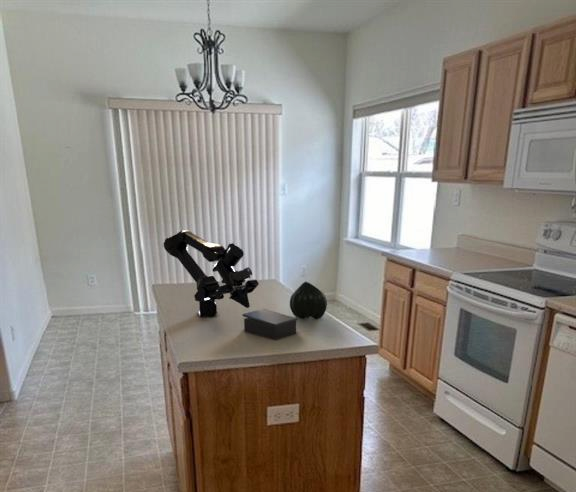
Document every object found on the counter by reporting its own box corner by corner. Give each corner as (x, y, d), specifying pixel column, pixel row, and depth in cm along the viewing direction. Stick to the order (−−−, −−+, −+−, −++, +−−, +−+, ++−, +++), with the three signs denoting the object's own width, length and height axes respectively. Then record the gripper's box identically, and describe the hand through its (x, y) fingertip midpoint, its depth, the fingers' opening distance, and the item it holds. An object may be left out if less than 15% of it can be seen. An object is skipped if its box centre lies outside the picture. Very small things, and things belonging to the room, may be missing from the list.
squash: (323, 311, 206) (326, 277, 211) (285, 310, 208) (289, 277, 213) (326, 327, 219) (329, 295, 224) (290, 326, 222) (294, 294, 227)
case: (244, 330, 199) (244, 318, 197) (265, 324, 207) (265, 312, 205) (275, 339, 189) (275, 326, 187) (296, 332, 197) (296, 320, 196)
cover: (242, 316, 197) (242, 314, 197) (263, 310, 205) (264, 308, 205) (275, 326, 187) (275, 324, 187) (296, 320, 196) (296, 318, 195)
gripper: (219, 263, 192) (241, 299, 190) (255, 258, 205) (276, 291, 203) (205, 282, 200) (226, 316, 198) (241, 275, 213) (261, 307, 211)
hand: (248, 307), depth 202 cm, fingers closed
